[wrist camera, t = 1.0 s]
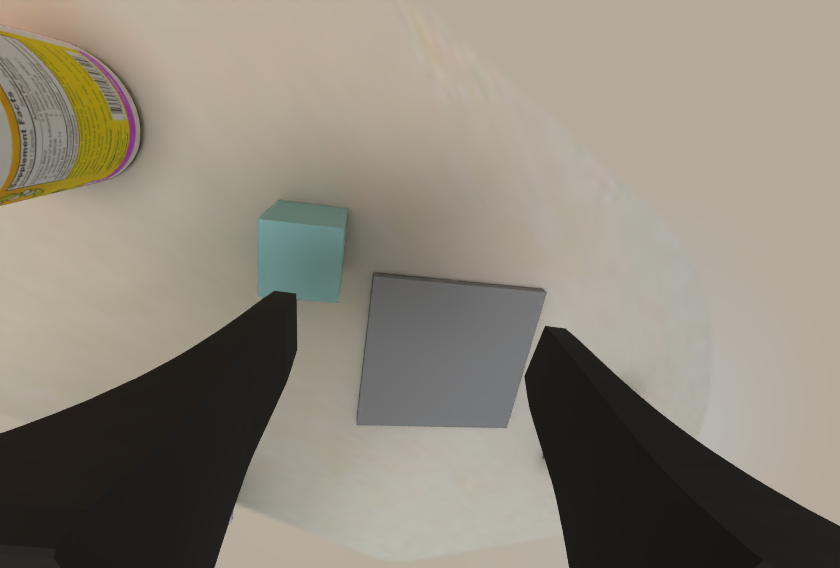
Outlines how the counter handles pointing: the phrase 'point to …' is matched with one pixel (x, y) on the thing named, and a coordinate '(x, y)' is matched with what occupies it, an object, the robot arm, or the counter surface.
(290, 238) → the teal block
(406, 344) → the mat
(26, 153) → the supplement bottle
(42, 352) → the counter surface
